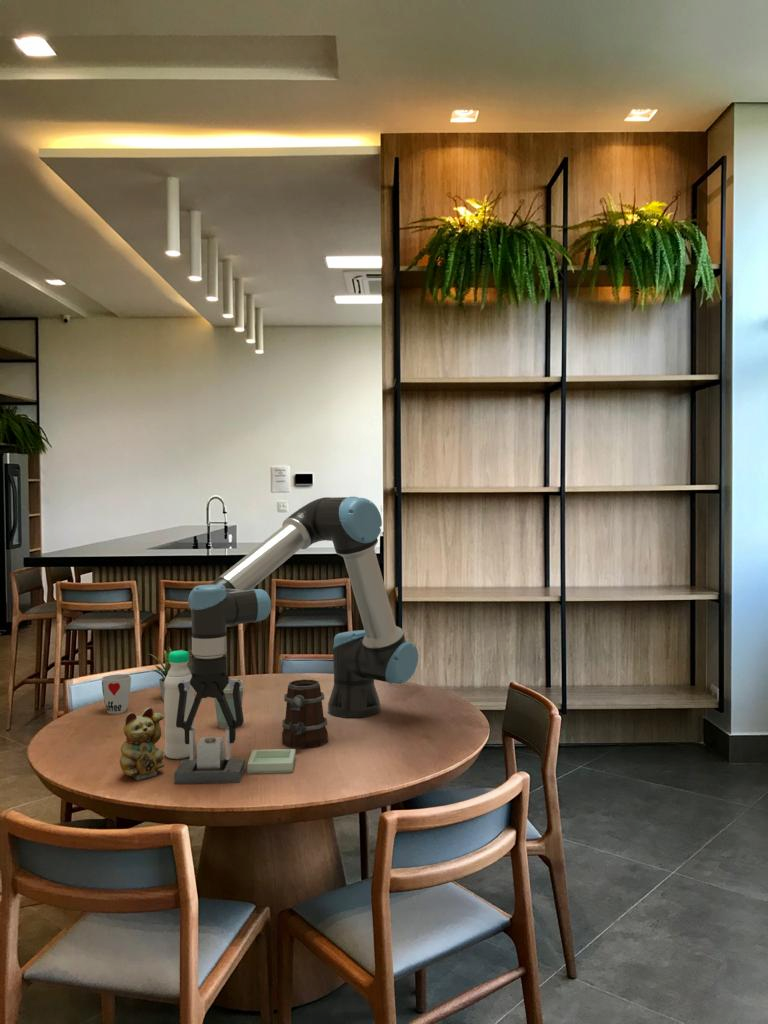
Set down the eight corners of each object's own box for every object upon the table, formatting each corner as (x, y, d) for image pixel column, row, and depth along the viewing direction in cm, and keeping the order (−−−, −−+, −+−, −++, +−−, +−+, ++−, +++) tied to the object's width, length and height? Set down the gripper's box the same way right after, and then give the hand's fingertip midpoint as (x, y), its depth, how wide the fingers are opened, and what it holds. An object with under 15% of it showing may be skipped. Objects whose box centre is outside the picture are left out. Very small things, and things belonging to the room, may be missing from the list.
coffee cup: (237, 731, 211) (237, 686, 210) (207, 729, 212) (207, 685, 212) (249, 722, 219) (249, 679, 219) (220, 720, 221) (220, 677, 221)
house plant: (208, 697, 247) (207, 645, 247) (174, 707, 235) (173, 652, 235) (176, 691, 255) (175, 640, 254) (141, 701, 243) (141, 647, 243)
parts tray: (295, 758, 189) (295, 749, 189) (292, 772, 179) (292, 763, 179) (253, 759, 188) (253, 749, 188) (247, 773, 178) (247, 764, 178)
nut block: (223, 772, 179) (223, 735, 179) (220, 780, 174) (219, 742, 174) (201, 772, 179) (201, 736, 179) (197, 780, 174) (196, 742, 174)
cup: (95, 713, 229) (95, 679, 229) (115, 706, 237) (114, 673, 236) (118, 716, 226) (118, 681, 226) (137, 709, 234) (136, 675, 233)
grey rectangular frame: (245, 768, 182) (245, 758, 182) (239, 782, 173) (239, 771, 173) (183, 769, 181) (183, 759, 181) (174, 783, 172) (174, 772, 172)
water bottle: (179, 761, 187) (178, 655, 186) (158, 756, 190) (157, 652, 190) (201, 753, 193) (200, 650, 192) (180, 748, 196) (179, 647, 196)
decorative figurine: (130, 784, 172) (129, 715, 172) (110, 776, 177) (110, 709, 177) (169, 773, 179) (168, 706, 179) (149, 764, 185) (148, 700, 184)
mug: (288, 733, 208) (288, 676, 208) (333, 736, 206) (333, 678, 206) (269, 752, 193) (268, 691, 193) (317, 755, 191) (317, 693, 190)
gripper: (257, 651, 181) (258, 751, 181) (167, 652, 180) (168, 753, 180) (252, 657, 173) (253, 762, 173) (159, 659, 172) (160, 764, 173)
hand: (210, 757), depth 177 cm, fingers open, 7 cm apart
